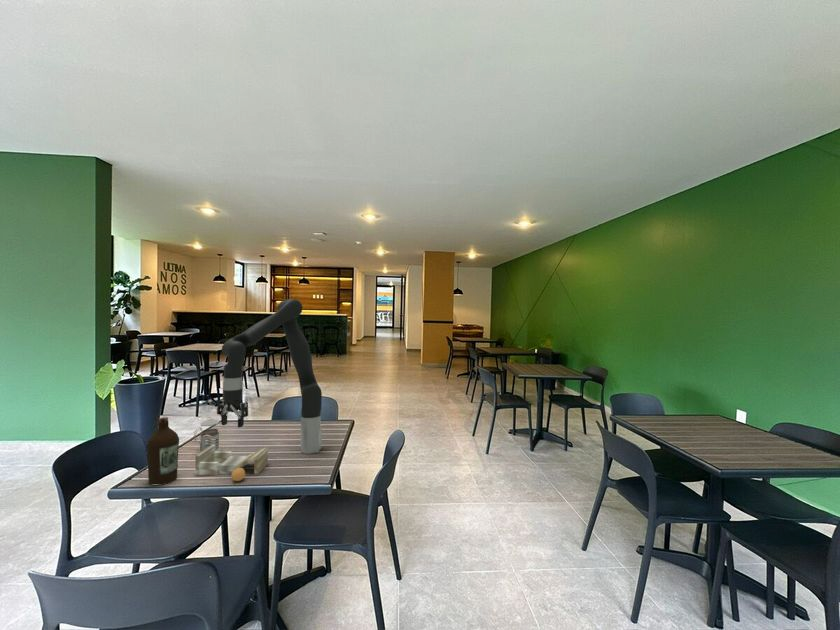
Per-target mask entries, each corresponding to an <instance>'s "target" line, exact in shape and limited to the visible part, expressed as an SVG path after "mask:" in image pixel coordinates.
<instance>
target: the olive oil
mask: <svg viewBox="0 0 840 630" xmlns="http://www.w3.org/2000/svg"><path fill="white" fill-rule="evenodd" d="M157 423H158V425H157V426H158V427H157V429H156V430H155V431H154V432H153V433H152V434H151V435H150V436H149V437H148V440H147V442H146V452H147V454H146V456H147V469H148V470H147V473H148V478H147V479H148V484H149V485H150V484H163V485H165V484H164V483H167V484H169V483H168V482H170V483H172V482H174V481H175V480H177V479H178V468H179V463H178V461H179V447H180V437H179V435H178V433H177V432H176V431H174V430H173V429H172V428H170V426H169V417H167V416H165V417H160V418H158V422H157ZM173 480H174V481H173ZM171 481H172V482H171Z"/></svg>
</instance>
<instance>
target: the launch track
mask: <svg viewBox="0 0 840 630" xmlns="http://www.w3.org/2000/svg"><path fill="white" fill-rule="evenodd" d="M210 445H211V446H210V447H208V448H207V449H205V450H204V451H202V452H201V453H199V454H198V453H197V454H196V455H195V458H194V459H195V460H194V461H195V466H194V467H195V468H194V469H195V472H194V473H195V476H218V475H232V472H233V471H234V470H235V469H236V468H242V469H244V467H246V466H247V465H248V464H250V463H253V462H254V463H253V465H254V470H253V471H254V474H253V475H259V474H260V473H261V472H262V471H263V470H264V469H265V467H267V466H268V464H269V462H268V461H269V460H268V459H269V448H268V447H264V448H262V449H260V450H258V451H255V452H252V453H251V454H249V455H233V451H219V452H216V451H215V445H216V444H210Z"/></svg>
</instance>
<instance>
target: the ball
mask: <svg viewBox="0 0 840 630" xmlns="http://www.w3.org/2000/svg"><path fill="white" fill-rule="evenodd" d="M230 475H231V477H230V478H231V479H232V480H233V481H234V482H241V481H242V480H243V479H244V478H245V476H246V471H245V469H244V468H236V469H235V470H234V471H233V472H232V474H230Z"/></svg>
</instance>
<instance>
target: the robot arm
mask: <svg viewBox="0 0 840 630" xmlns="http://www.w3.org/2000/svg"><path fill="white" fill-rule="evenodd" d="M276 310H277V311H276V312H274V313H273V314H271V315H269V316H267V317H266V318H264V319H262V320H260V321H257V322H256V323H254V324H253V325H251V326H250V327H249V328H247V329H246V330H244V331H243V332H241V333H239V334H237V335H235V336H233V337H231V338H229V339H228V340H226V341H225V342H224V343H223V344H222V346H221V353H222V354H223V356H226V357H228V358H227V363H225V365H224V367H223V381H222V399H220V400H217V406H216V407H217V408H216V414H217V416H218V415H219V416H220V419H221V420H220V421H221V426H225V425H228V414H229V413H234V415H236V417H237V427H238V429H239V428H242V427H244V423H245V418H247V417H248V416H249V405H248V401H245V402H242V399H243V396H244V389H243V388H244V387H243V385H244V383H243V381H244V380H243V365H244V362H245V358H246V354H247V353H246V350H247V349H246V348H248V347H250V346H254V345H255V344H257V343H258V342H260V341H261V340H262V339H263V338H265V337H266V336H268V335H269V334H271V333H272V332H273V331H274V330H276V329H277V328H279V327H280V326H282V327H283V331H284V334H285V339H286V342H287V345H288V349H289V354H290V357H291V360H292V363H293V367H294V369H295V371H296V373H297V376H298V377H297V378H298V380H299V388H300V394H301V395H300V396H301V409H300V410H301V411H300V452H301V453H302V454H306V455H309V454H310V455H311V454H315V453H318V454H319V452H320V451H321V450H322V434H323V433H322V431H323V430H322V428H321V420H322V419H321V415H322V414H321V413H322V401H323V400H322V399H323V398H322V396H323V395H322V394H323V393H322V389H321V387H320V386H319V384H318V382H317V380H316V376H315V374H314V369H313V359H312V358H313V357H312V352H311V349H310V345H309V341H308V340H307V338H306V336H305V335H304V333H303V332H302V331H301V329H300V327H299V323H298V321H297V318H298V317H299V316H300V315H301V314H302V312H303V304H302V302H301V301H300V300H298V299H295V298H289V299H284V300H282V301H280V302H279V303H278V305H277V307H276Z"/></svg>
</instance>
